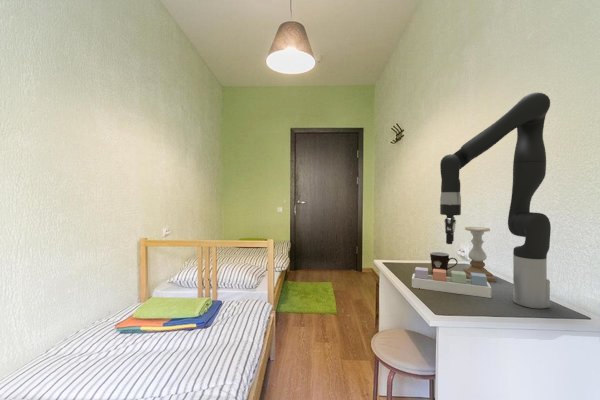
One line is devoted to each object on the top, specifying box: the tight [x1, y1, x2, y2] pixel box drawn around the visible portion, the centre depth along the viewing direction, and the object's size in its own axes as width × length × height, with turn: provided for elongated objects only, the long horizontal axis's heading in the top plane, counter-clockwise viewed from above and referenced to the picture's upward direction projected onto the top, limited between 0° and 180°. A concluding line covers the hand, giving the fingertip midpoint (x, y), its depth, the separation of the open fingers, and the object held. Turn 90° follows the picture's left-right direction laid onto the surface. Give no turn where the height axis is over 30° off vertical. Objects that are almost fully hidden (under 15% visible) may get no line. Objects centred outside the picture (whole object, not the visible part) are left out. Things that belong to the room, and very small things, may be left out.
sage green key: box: [450, 270, 466, 284], centre depth 113 cm, size 5×5×4 cm
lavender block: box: [414, 266, 429, 280], centre depth 119 cm, size 5×5×4 cm
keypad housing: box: [411, 273, 492, 299], centre depth 115 cm, size 28×8×4 cm, turn 63°
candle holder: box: [460, 226, 496, 283], centre depth 130 cm, size 11×11×24 cm
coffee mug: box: [429, 251, 458, 276], centre depth 137 cm, size 12×9×10 cm
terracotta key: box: [432, 269, 447, 282], centre depth 116 cm, size 5×5×4 cm
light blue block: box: [471, 273, 487, 287], centre depth 110 cm, size 5×5×4 cm
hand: (449, 242), depth 113 cm, fingers open, 8 cm apart
